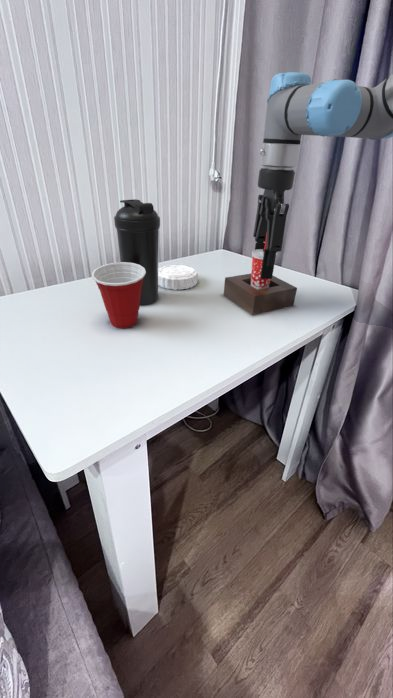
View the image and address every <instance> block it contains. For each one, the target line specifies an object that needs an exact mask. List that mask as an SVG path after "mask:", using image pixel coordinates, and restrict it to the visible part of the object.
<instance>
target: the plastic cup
mask: <svg viewBox="0 0 393 698" xmlns="http://www.w3.org/2000/svg"><path fill="white" fill-rule="evenodd" d="M145 274H146V271H145V268H144V267H142V266H141V265H138V264H135V263H128V262H120V261H119V262H111V263H107V264H103V265H101V266H98V267H97V268H95V269H94V270H93V271H92V272H91V278H92V280H94V282H95V283H96V285H97V287H98V288H97V289H98V290H99V292H100V295H101V299H102V302H103V305H104V309H105V311H106V313H107V316H108V319H109V322H110V324H111V326H112V327H115V328H117V329H129V328H132V327H134V326H135V325H137V323H138V320H139V310H140V306H141V305H140V298H141V289H142V283H143V278H144V276H145Z"/></svg>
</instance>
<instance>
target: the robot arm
mask: <svg viewBox="0 0 393 698" xmlns="http://www.w3.org/2000/svg"><path fill="white" fill-rule="evenodd" d="M302 136H315V137H316V136H318V137H323V138H324V137H330V138H331V137H336V138H337V137H338V138H355V139H367V140H373V141H378V140H384V139H385V140H386V139H391V138H393V73H392V74H391V75H389V76H388V77H387V78H385V79H384V80H383V81H382V82H380V83H379V84H377V85H376V86H374V87H370V86H369V87H368V86H361V85H360V86H359V85H357V84H356V83H355V81H353V80H351V79H337V78H334V79H330V80H327V81H324V82H317V83H312V77H311V75H310V74H308V73H305V72H299V71H298V72H296V71H288V72H279V73H276V74H275V75H274V76H272V79H271V81H270V86H269V93H268V97H267V100H266V112H265V122H264V130H263V138H262V139H263V141H262V148H261V149H259V154H260V156H261V157H260V165H261V166H262V167H261V168H260V169H259V171H258V178H257V187H258V188H259V189H262V190H263V194H258V197H257V209H256V215H255V223H254V227H253V234H252V236H253V238H254V242H255V245H254V250H256V249H263V252H264V255H263V262H262V269H261V276H260V278H261V279H272V275H273V276H274V269H275V262H276V259H275V257H276V253H278V252H282V249H283V243H284V235H285V229H286V223H287V222H286V221H287V216H288V212H289V210H290V204H289V203H285V191H290V190H292V189H293V188H294V187H293V186H294V182H295V175H296V171H295V170H294V168H296V167H297V165H298V159H299V154H300V149H301V143H302V142H301V139H302ZM266 234H267V243H266V249H264V247H265V240H266Z"/></svg>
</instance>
